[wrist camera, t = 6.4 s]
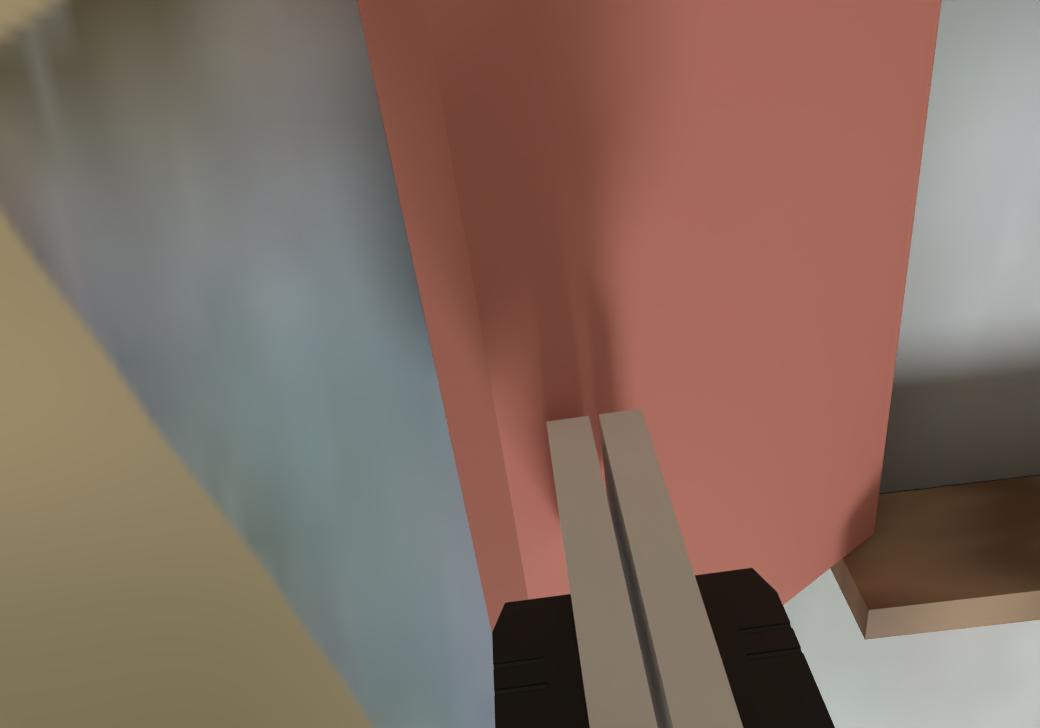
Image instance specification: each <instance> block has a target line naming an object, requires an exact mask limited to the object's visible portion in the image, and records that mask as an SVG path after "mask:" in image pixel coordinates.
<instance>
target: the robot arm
mask: <svg viewBox="0 0 1040 728" xmlns="http://www.w3.org/2000/svg"><path fill="white" fill-rule="evenodd" d="M546 423H547V431H548V438H549V445H550V452H551V460H552V467H553V474H554V481H555V489H556V496H557V503H558V510H559V518H560V525H561V532H562V539H563V546H564V553H565V560H566V568H567V575H568V582H569V589H570V594H566V595H559V596H551V597H544V598H536V599H529V600H521V601H514V602H506V603H505V604H504V606H503V609H502V611H501V613H500V615H499V618H498V620H497V622H496V625H495V627H494V629H493V631H492V638H493V664H494V691H495V696H494V698H495V727H496V728H835V727H834V725H833V722H832V720H831V717H830V715H829V713H828V710H827V708H826V706H825V703H824V701H823V699H822V696H821V694H820V692H819V689H818V687H817V685H816V682H815V680H814V677H813V675H812V673H811V670H810V668H809V666H808V663H807V661H806V659H805V656H804V654H803V653H802V652H801V647H800V645H799V642H798V640H797V637H796V635H795V633H794V630H793V628H791V626H790V621H789V619H788V616H787V614H786V612H785V609H784V607H783V605H782V602H781V600H780V597H779V595H778V593H777V591H776V590H775V589H774V588H773V587H771V586H770V585H769V584H768V583H767V582H766V581H765V580H764V579H763V578H762V577H761V576H760V575H759V574H758V573H757V572H756V571H755V570H754V569H753V568H746V569H739V570H731V571H724V572H716V573H709V574H701V575H694V572H693V569H692V565H691V562H690V559H689V556H688V553H687V550H686V547H685V544H684V540H683V537H682V534H681V531H680V528H679V525H678V522H677V519H676V515H675V512H674V509H673V506H672V503H671V500H670V497H669V493H668V490H667V487H666V484H665V481H664V478H663V475H662V472H661V468H660V465H659V462H658V459H657V456H656V453H655V450H654V447H653V443H652V440H651V437H650V434H649V431H648V428H647V425H646V421H645V418H644V415H643V412H642V409H634V410H627V411H620V412H612V413H605V414H599V423H600V433H601V443H602V454H603V464H604V474H605V485H606V491H605V487H604V482H603V478H602V473H601V469H600V464H599V460H598V455H597V451H596V446H595V442H594V437H593V433H592V428H591V423H590V419H589V416H583V417H576V418H569V419H561V420H554V421H547V422H546ZM606 495H607V496H606Z"/></svg>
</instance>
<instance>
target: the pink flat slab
mask: <svg viewBox="0 0 1040 728" xmlns="http://www.w3.org/2000/svg"><path fill="white" fill-rule="evenodd" d="M357 2H358V7H359V12H360V16H361V21H362V26H363V31H364V35H365V40H366V45H367V49H368V54H369V59H370V63H371V68H372V73H373V77H374V82H375V87H376V91H377V96H378V101H379V105H380V110H381V115H382V120H383V124H384V129H385V134H386V138H387V143H388V148H389V152H390V157H391V162H392V166H393V171H394V176H395V180H396V185H397V190H398V194H399V199H400V204H401V209H402V213H403V218H404V223H405V227H406V232H407V237H408V241H409V246H410V251H411V255H412V260H413V265H414V269H415V274H416V279H417V283H418V288H419V293H420V297H421V302H422V307H423V312H424V316H425V321H426V326H427V330H428V335H429V340H430V344H431V349H432V354H433V358H434V363H435V368H436V372H437V377H438V382H439V386H440V391H441V396H442V401H443V405H444V410H445V415H446V419H447V424H448V429H449V433H450V438H451V443H452V447H453V452H454V457H455V461H456V466H457V471H458V475H459V480H460V485H461V490H462V494H463V499H464V504H465V508H466V513H467V518H468V522H469V527H470V532H471V536H472V541H473V546H474V550H475V555H476V560H477V564H478V569H479V574H480V579H481V583H482V588H483V593H484V597H485V602H486V607H487V611H488V616H489V621H490V625H491V630H492V631H493V629H494V627H495V625H496V622H497V620H498V618H499V615H500V613H501V611H502V609H503V606H504V604H505V603H506V602H514V601H521V600H529V599H536V598H544V597H551V596H559V595H566V594H570V589H569V582H568V575H567V568H566V560H565V553H564V546H563V539H562V532H561V525H560V518H559V510H558V503H557V496H556V489H555V481H554V474H553V467H552V460H551V452H550V445H549V438H548V431H547V423H546V422H547V421H554V420H561V419H569V418H576V417H583V416H589V419H590V423H591V428H592V433H593V437H594V442H595V446H596V451H597V455H598V460H599V464H600V469H601V473H602V478H603V482H604V487H605V491H606V485H605V474H604V464H603V454H602V443H601V433H600V423H599V414H605V413H612V412H620V411H627V410H634V409H642V412H643V415H644V418H645V421H646V425H647V428H648V431H649V434H650V437H651V440H652V443H653V447H654V450H655V453H656V456H657V459H658V462H659V465H660V468H661V472H662V475H663V478H664V481H665V484H666V487H667V490H668V493H669V497H670V500H671V503H672V506H673V509H674V512H675V515H676V519H677V522H678V525H679V528H680V531H681V534H682V537H683V540H684V544H685V547H686V550H687V553H688V556H689V559H690V562H691V565H692V569H693V572H694V575H701V574H709V573H716V572H724V571H731V570H739V569H746V568H753V569H754V570H755V571H756V572H757V573H758V574H759V575H760V576H761V577H762V578H763V579H764V580H765V581H766V582H767V583H768V584H769V585H770V586H771V587H773V588H774V589H775V590H776V591H777V593H778V595H779V597H780V600H781V602H782V605H784V604H785V603H786V602H788V601H789V600H790V599H791V598H793V597H794V596H795V595H796V594H798V593H799V592H800V591H801V590H803V589H804V588H805V587H807V586H808V585H809V584H810V583H812V582H813V581H814V580H815V579H817V578H818V577H819V576H821V575H822V574H823V573H824V572H826V571H827V570H828V569H829V568H831V567H832V566H833V565H835V564H836V563H837V562H838V561H840V560H841V559H842V558H843V557H845V556H846V555H847V554H848V553H850V552H851V551H852V550H854V549H855V548H856V547H857V546H859V545H860V544H861V543H862V542H864V541H865V540H866V539H868V538H869V537H870V536H871V535H873V534H874V529H875V521H876V513H877V505H878V497H879V490H880V482H881V474H882V466H883V458H884V450H885V442H886V434H887V426H888V418H889V411H890V403H891V395H892V387H893V379H894V371H895V363H896V355H897V347H898V339H899V331H900V324H901V316H902V308H903V300H904V292H905V284H906V276H907V268H908V260H909V252H910V245H911V237H912V229H913V221H914V213H915V205H916V197H917V189H918V181H919V173H920V166H921V158H922V150H923V142H924V134H925V126H926V118H927V110H928V102H929V94H930V86H931V79H932V71H933V63H934V55H935V47H936V39H937V31H938V23H939V15H940V7H941V0H357ZM606 496H607V495H606Z"/></svg>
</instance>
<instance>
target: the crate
mask: <svg viewBox="0 0 1040 728" xmlns="http://www.w3.org/2000/svg"><path fill="white" fill-rule="evenodd" d="M831 570H832V572H833V574H834V576H835V578H836V581H837V583H838V585H839V587H840V589H841V591H842V593H843V595H844V597H845V599H846V601H847V603H848V605H849V607H850V609H851V611H852V613H853V616H854V618H855V620H856V622H857V624H858V626H859V628H860V630H861V632H862V634H863V636H864V638H865V639H873V638H882V637H891V636H900V635H909V634H918V633H926V632H935V631H944V630H953V629H962V628H971V627H979V626H988V625H997V624H1006V623H1015V622H1024V621H1032V620H1040V475H1038V476H1029V477H1021V478H1013V479H1004V480H996V481H988V482H979V483H971V484H962V485H954V486H946V487H937V488H929V489H921V490H912V491H904V492H896V493H887V494H879V497H878V505H877V513H876V521H875V529H874V534H873V535H871V536H870V537H869V538H868V539H866V540H865V541H864V542H862V543H861V544H860V545H859V546H857V547H856V548H855V549H854V550H852V551H851V552H850V553H848V554H847V555H846V556H845V557H843V558H842V559H841V560H840V561H838V562H837V563H836V564H835V565H833V566H832V567H831Z"/></svg>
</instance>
